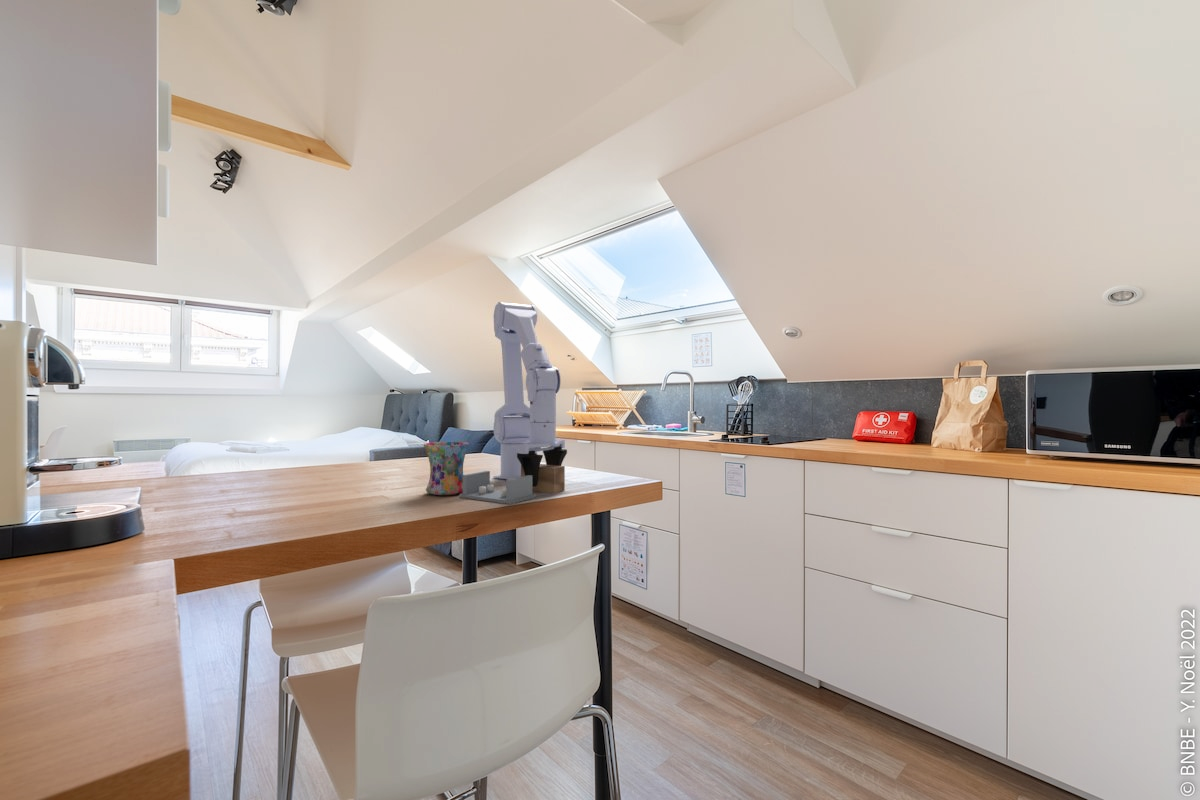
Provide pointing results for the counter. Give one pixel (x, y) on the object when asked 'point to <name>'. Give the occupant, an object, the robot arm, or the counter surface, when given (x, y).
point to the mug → (446, 467)
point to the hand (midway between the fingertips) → (542, 483)
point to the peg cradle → (482, 490)
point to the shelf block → (549, 478)
